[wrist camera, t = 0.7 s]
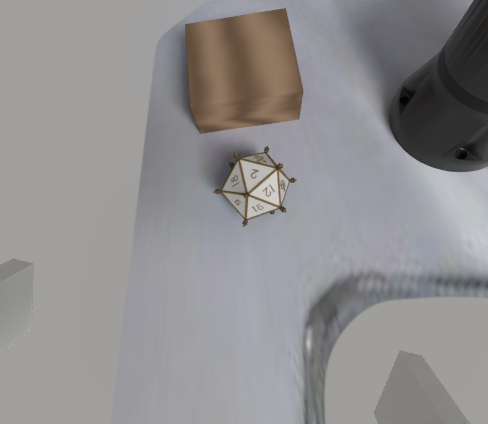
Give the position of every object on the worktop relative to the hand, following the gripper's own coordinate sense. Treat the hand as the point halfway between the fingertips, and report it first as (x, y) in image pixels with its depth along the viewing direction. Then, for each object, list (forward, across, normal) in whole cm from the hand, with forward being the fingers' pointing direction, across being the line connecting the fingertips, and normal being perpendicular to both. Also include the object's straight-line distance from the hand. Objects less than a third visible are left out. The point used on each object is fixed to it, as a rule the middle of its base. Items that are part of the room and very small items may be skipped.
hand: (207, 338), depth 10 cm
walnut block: (+38, -5, +14) cm, 41 cm away
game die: (+28, +1, 0) cm, 28 cm away
